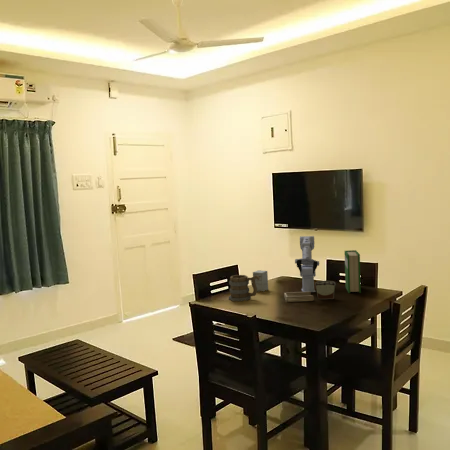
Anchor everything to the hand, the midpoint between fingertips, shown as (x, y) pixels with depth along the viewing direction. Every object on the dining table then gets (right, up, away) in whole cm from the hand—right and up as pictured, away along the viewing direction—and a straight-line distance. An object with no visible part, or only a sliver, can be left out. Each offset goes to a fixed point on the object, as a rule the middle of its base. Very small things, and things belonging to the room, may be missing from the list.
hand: (307, 271), depth 287 cm
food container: (+11, -16, +3) cm, 20 cm away
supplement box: (-25, -16, +32) cm, 44 cm away
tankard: (-37, -18, +10) cm, 42 cm away
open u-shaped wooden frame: (-4, -17, +3) cm, 18 cm away
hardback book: (+33, -14, +20) cm, 41 cm away
